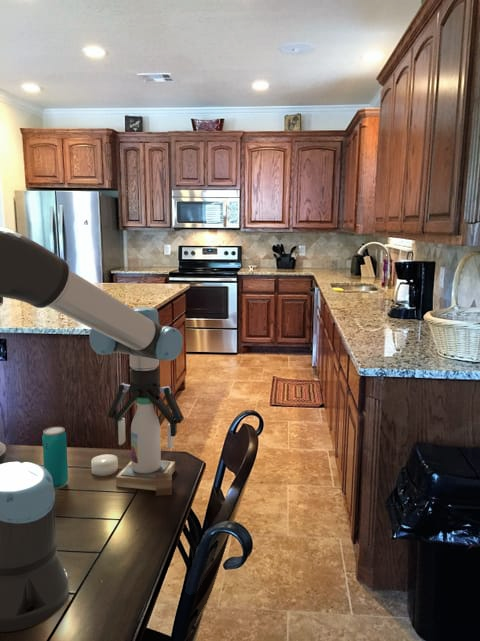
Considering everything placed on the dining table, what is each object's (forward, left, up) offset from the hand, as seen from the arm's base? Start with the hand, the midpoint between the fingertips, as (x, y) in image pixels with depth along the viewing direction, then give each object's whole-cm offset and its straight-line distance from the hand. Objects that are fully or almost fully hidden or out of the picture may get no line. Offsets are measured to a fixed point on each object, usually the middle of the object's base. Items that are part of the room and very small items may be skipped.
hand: (146, 445), depth 132 cm
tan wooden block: (-6, -7, -9) cm, 13 cm away
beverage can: (-9, +21, -9) cm, 25 cm away
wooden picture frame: (0, 0, -9) cm, 9 cm away
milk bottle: (0, 0, -7) cm, 7 cm away
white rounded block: (+2, +13, -9) cm, 16 cm away
